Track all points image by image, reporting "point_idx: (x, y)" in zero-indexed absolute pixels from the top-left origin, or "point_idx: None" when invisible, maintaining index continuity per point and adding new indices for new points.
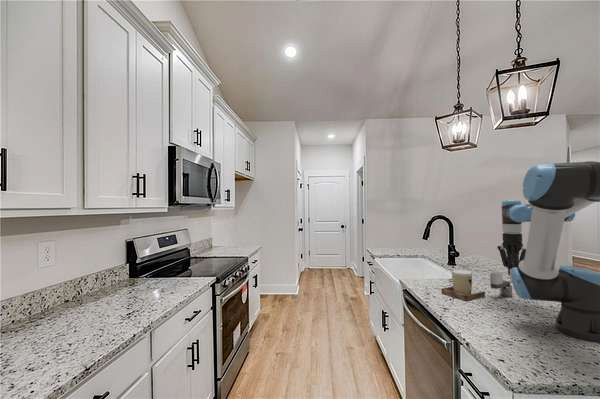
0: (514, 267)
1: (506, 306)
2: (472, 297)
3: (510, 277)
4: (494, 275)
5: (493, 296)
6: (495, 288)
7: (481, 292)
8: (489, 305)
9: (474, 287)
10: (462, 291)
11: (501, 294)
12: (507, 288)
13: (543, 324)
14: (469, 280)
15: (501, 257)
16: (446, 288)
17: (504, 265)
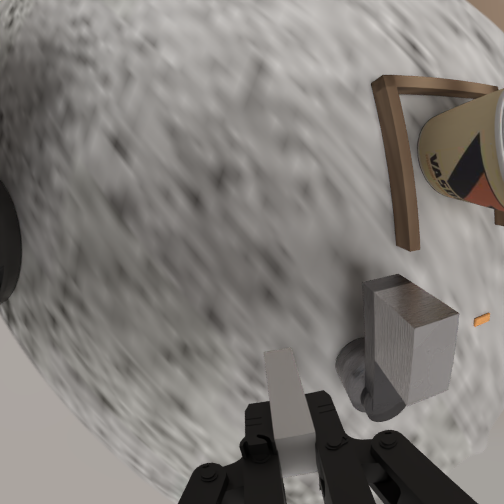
0: (262, 465)
1: (238, 214)
2: (387, 129)
3: (295, 375)
4: (419, 317)
5: None
6: (369, 281)
7: (409, 220)
8: (282, 137)
9: (486, 314)
10: (442, 116)
11: None
12: (357, 375)
13: (31, 172)
14: (475, 144)
15: (464, 496)
16: None
17: (387, 437)
